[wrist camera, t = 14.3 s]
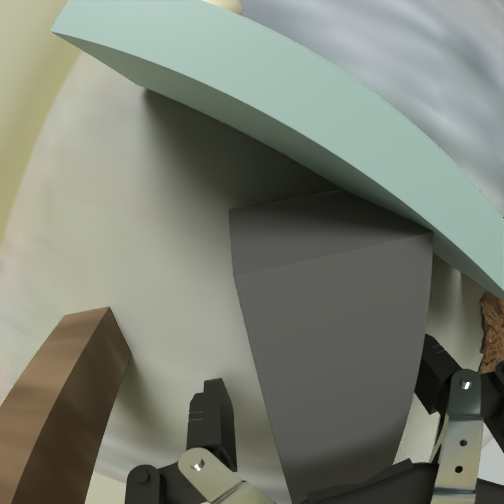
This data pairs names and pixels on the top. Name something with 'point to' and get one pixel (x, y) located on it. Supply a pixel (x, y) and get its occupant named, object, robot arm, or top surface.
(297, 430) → the bar
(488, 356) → the wooden fragment
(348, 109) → the door
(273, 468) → the top surface
